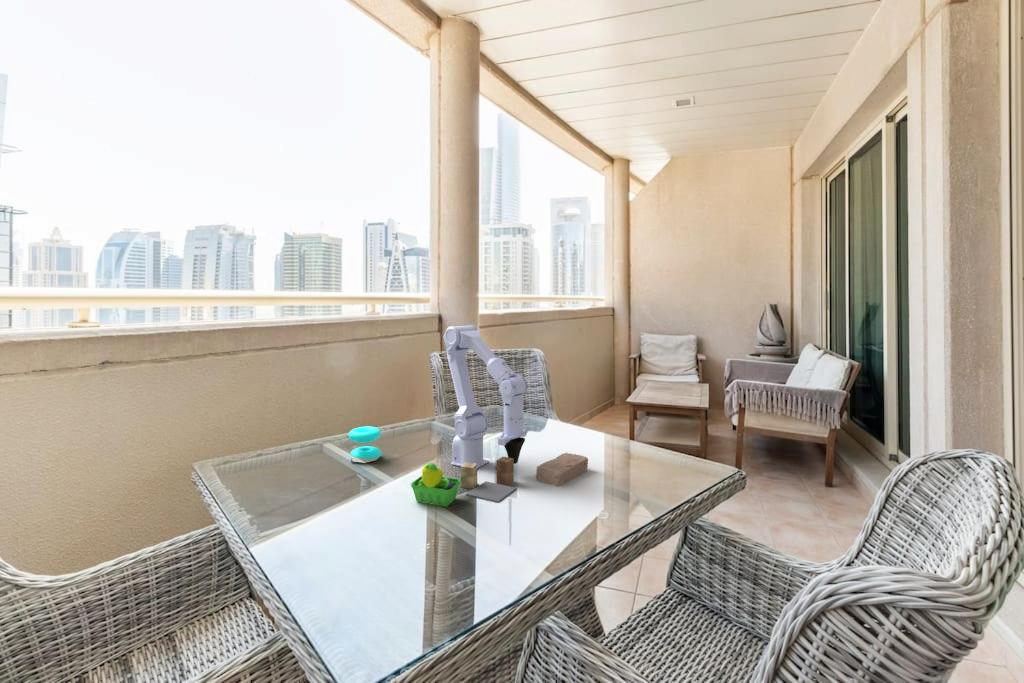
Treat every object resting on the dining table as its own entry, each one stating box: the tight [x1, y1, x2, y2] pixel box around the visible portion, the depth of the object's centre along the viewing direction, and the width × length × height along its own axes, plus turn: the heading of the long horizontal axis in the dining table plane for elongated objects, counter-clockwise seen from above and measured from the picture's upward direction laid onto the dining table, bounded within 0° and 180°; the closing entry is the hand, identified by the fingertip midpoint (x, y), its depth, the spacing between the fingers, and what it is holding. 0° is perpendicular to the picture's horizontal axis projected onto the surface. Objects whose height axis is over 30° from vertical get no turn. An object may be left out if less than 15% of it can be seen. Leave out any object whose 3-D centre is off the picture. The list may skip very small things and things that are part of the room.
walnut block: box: [496, 456, 515, 486], centre depth 142 cm, size 4×4×7 cm
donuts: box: [348, 425, 382, 459], centre depth 162 cm, size 10×10×10 cm
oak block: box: [460, 462, 478, 490], centre depth 140 cm, size 4×4×6 cm
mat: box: [465, 481, 517, 504], centre depth 136 cm, size 10×10×1 cm
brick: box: [535, 452, 589, 487], centre depth 148 cm, size 17×8×5 cm, turn 140°
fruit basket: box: [410, 462, 461, 507], centre depth 129 cm, size 11×9×11 cm
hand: (513, 462), depth 146 cm, fingers closed
